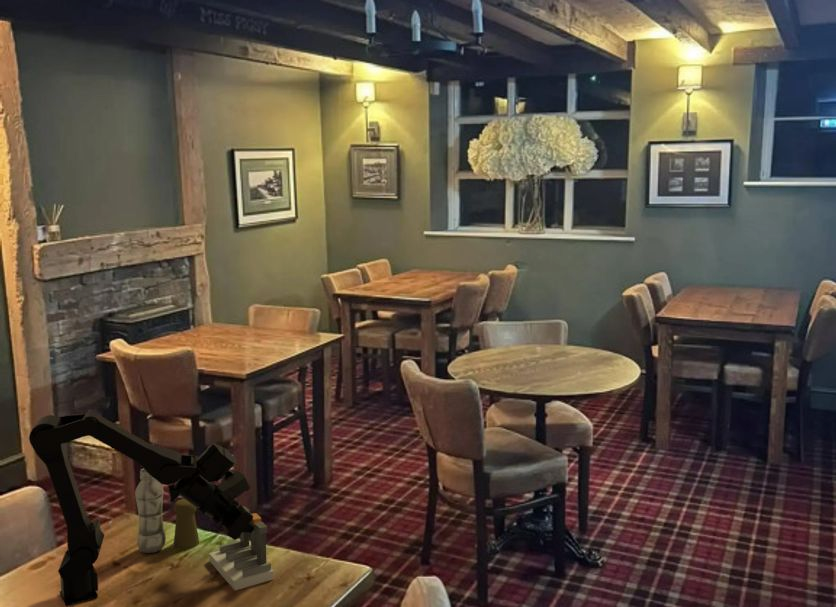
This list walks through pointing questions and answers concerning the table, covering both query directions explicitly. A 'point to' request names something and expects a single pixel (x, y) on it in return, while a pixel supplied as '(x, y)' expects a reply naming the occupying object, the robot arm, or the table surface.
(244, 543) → the handle
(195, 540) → the olive pepper mill
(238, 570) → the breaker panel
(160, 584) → the table surface
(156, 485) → the plastic bottle
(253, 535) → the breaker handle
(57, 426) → the robot arm
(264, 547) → the right breaker handle
